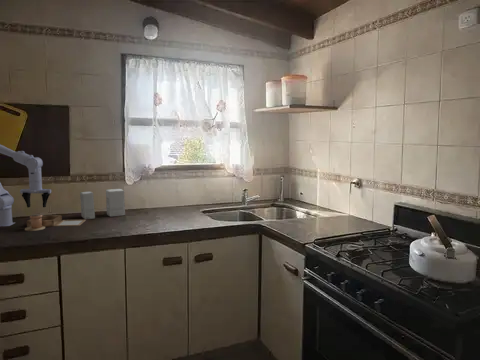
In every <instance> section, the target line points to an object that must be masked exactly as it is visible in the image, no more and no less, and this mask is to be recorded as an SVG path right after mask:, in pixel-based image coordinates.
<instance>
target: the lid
mask: <svg viewBox="0 0 480 360" xmlns="http://www.w3.org/2000/svg"><path fill="white" fill-rule="evenodd" d="M86 221H87V219H62V221H61V222H59V223H58V224H56V225H55V226H54V227H78V226H79V227H80V226H81V225H82V224H83V223H84V222H86Z"/></svg>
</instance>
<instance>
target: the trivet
mask: <svg viewBox="0 0 480 360" xmlns="http://www.w3.org/2000/svg"><path fill="white" fill-rule="evenodd" d="M44 229H46V226H42V227H41V228H35V229H34V228H31V226H30V227H27V226H26V227H25V228H24V231H27V232H33V231H34V232H35V231H42V230H44Z"/></svg>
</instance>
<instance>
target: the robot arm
mask: <svg viewBox="0 0 480 360" xmlns="http://www.w3.org/2000/svg"><path fill="white" fill-rule="evenodd" d="M0 154H2V155H3V156H4V155H5V156H7V157H11V158H12V160H13V161H14V162H16V163H19V164H21V165H23V166H26V168H27V171H28V186H29V188H24V189H23V188H22V189H20V190H19V193H20V194H21V196H22V198H23V200H24V201H25V204H26V207H27V208H31V196H32V195H31V194H41V199H42V208H46V207H47V202H48V200H49V197H50V195H51V193H52V189H50V188H43V181H42V179H43V178H42V167H43V165H44V162H43V159H42V158H40V157H38V156H35V157H34V155H33V154H28V153H26V152H25V151H24V150H18V151H15V150H13V149H11V148H8V147H6V146H5V145H3V144H1V143H0ZM14 201H15V198H14V197H13V196H12V195H11V193H9V191H8V190H6V189H5V188H4V187H3V185H2V183H1V182H0V227H10V226H12V225H14V224H16V222H13V211H12V210H13V209H12V208H13V206H12V205H13V204H14Z"/></svg>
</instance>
